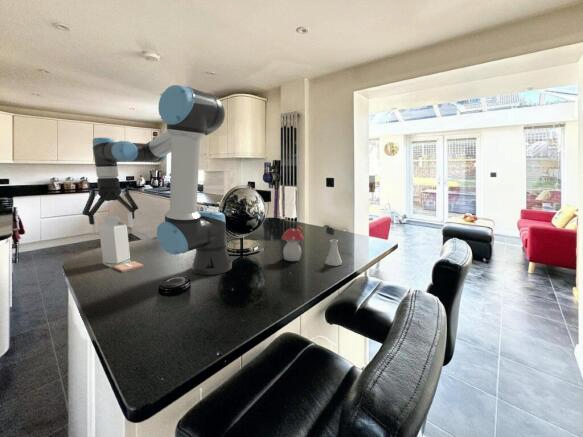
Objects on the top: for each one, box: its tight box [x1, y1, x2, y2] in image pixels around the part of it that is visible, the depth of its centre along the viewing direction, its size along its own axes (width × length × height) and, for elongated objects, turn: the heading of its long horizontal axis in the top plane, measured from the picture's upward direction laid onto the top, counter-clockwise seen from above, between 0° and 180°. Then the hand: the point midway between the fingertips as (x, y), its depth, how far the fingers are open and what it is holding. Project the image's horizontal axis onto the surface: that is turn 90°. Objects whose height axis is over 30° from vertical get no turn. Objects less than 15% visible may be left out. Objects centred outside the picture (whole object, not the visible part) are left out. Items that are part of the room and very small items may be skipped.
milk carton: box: [98, 215, 131, 264], centre depth 124 cm, size 7×7×19 cm
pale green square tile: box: [102, 259, 132, 268], centre depth 125 cm, size 8×8×1 cm
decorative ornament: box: [281, 225, 304, 262], centre depth 128 cm, size 9×7×15 cm
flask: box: [324, 239, 343, 267], centre depth 123 cm, size 7×7×10 cm
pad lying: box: [113, 260, 144, 273], centre depth 120 cm, size 8×8×1 cm
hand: (114, 229), depth 123 cm, fingers open, 13 cm apart
